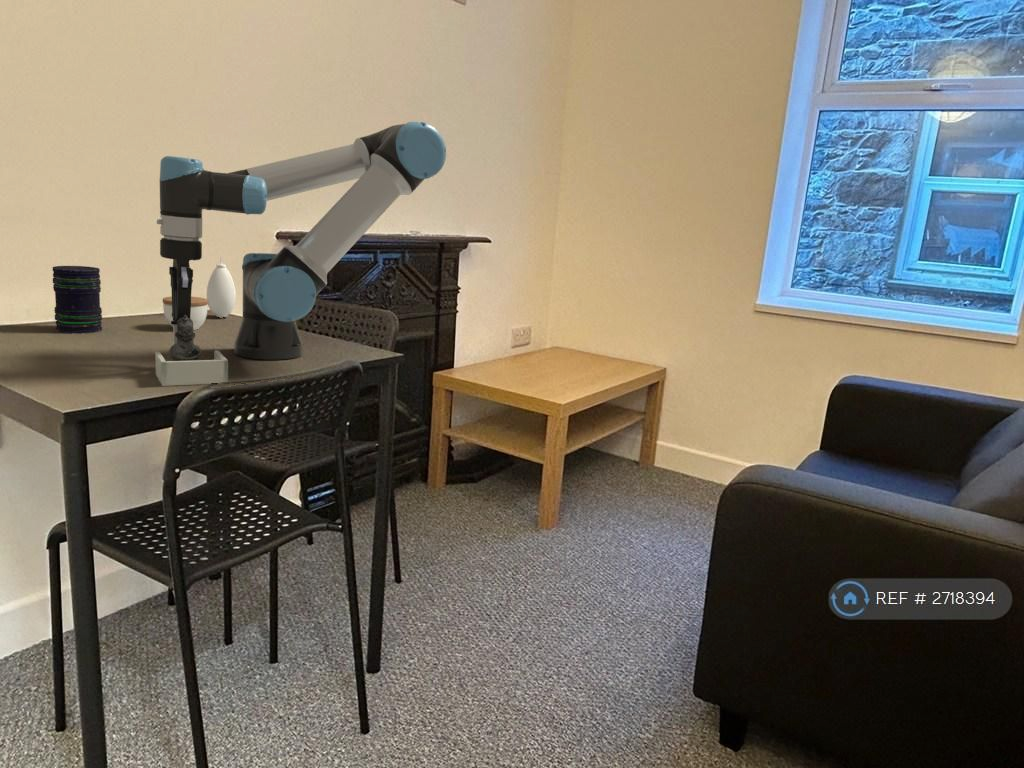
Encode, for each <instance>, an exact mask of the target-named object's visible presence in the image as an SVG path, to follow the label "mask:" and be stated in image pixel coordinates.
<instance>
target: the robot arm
mask: <svg viewBox="0 0 1024 768" xmlns="http://www.w3.org/2000/svg"><path fill="white" fill-rule="evenodd" d="M446 148H447V146H446V143H445V140H444V137H443V136H442V135H441V133H440V132H439V130H438V129H437V128H435V127H434V126H433V125H431V124H429V123H427V122H423V121H418V120H412V121H409V122H406V123H402V124H395V125H391V126H388V127H386V128H384V129H382V130H379V131H376V132H374V133H372V134H369V135H365V136H361V137H357V138H356V139H354V142H353V144H348V145H342V146H339V147H334V148H330V149H327V150H322V151H317V152H313V153H308V154H304V155H300V156H296V157H292V158H291V157H290V158H287V159H283V160H279V161H278V160H277V161H275V162H270V163H265V164H262V165H261V164H260V165H258V166H252V167H248V168H245V169H240V170H236V171H232V172H215V171H209V170H204V167H203V162H202V161H201V160H200V159H195V158H188V157H182V156H172V155H171V156H170V155H166V156H164V157H163V158H161V160H160V164H159V166H160V167H159V168H160V169H159V210H160V211H159V212H160V213H159V214H160V215H159V216H160V218H159V219H158V218H157V220H156V224H157V225H160V226H159V227H160V228H159V229H160V235H161V236H163V237H161V239H159V248H160V249H159V251H160V252H159V254H160V257H162V258H164V259H169V260H172V266H169V267H168V270H169V273H168V274H169V275H170V288H171V297H172V317H173V321H171V324H173V327H172V330H173V332H172V333H173V337H172V338H173V339H172V340H173V341H172V342H173V345H175V344H177V337H176V336H175V333H176V332H177V322H178V320H179V319H180V318H184V317H183V316H184V315H186V316H187V318H190V312H191V297H192V288H193V282H194V280H193V278H194V269H192V268H191V267H190V261H199V260H201V259H202V256H203V253H202V252H203V249H202V248H203V244H202V242H201V240H200V239H202V238H203V210H206V211H216V212H227V213H233V214H234V213H236V214H245V215H247V216H248V215H262V214H264V213H265V211H266V208H267V202H269V201H273V200H276V199H279V198H280V199H281V198H284V197H288V196H293V195H297V194H300V193H304V192H308V191H309V192H310V191H313V190H317V189H320V188H325V187H330V186H333V185H337V184H342V183H344V182H345V183H346V182H349V181H353V180H356V182H355V183H354V184H353V185H352V186H351V187H349V189H348V190H346V192H345V193H344V194H343V195H342V196H341V197H340V198H339V200H337V201H336V202H335V203H334V205H333V206H332V207H331V208H330V209H329V210H328V211H327V212H326V213H325V214H324V215H323V216H322V218H320V220H318V221H317V223H316V224H315V225H314V226H312V228H311V229H310V230H309V231H308V232H307V233H306V234H305V235H304V236H303V237H302V239H300V241H299V242H297V243H296V245H286V246H283V248H282V249H281V250H280V251H278V253H264V252H263V253H262V252H258V253H255V252H250V253H246V254H245V255H244V256H243V259H242V265H241V269H242V319H241V323H240V325H239V329H238V331H237V335H236V338H235V341H234V351H233V352H234V354H235V355H236V356H240V357H243V358H248V359H253V360H254V359H255V360H268V361H271V360H272V361H275V360H276V361H277V360H288V359H295V358H298V357H301V356H302V355H303V342H302V339H301V335H300V333H299V329H298V326H297V322H296V321H298V320H300V319H302V318H304V317H306V316H307V315H308V314H309V313H310V312H311V310H312V309H313V307H314V306H315V303H316V299H317V296H318V295H319V293H320V292H321V291H322V290H323V289H324V288H325V287H326V286H327V284H328V273H329V272H330V271H331V270H332V269H333V268H334V267H335V266H336V265H337V263H338V262H339V261H341V260H342V258H343V257H344V256H345V255H346V254H347V252H349V250H351V248H352V247H354V245H356V243H357V242H358V241H359V240H360V239H361V238H362V237H363V235H364V234H365V233H366V232H367V231H368V230H369V229H370V228H371V227H372V226H373V225H374V224H375V223H376V221H378V219H380V217H381V216H382V215H383V214H384V213H385V212H386V211H387V210H388V208H390V207H391V205H392V204H393V203H394V202H395V201H396V200H397V199H398V198H399V197H400V196H402V195H403V196H404V195H406V196H409V195H411V194H412V193H413V192H414V191H415V190H416V189H417V188H418V187H419V186H420V185H421V184H422V183H423V181H424V180H427V179H430V178H432V177H434V176H436V175H437V174H438V173H440V171H441V170H442V169H443V167H444V166H445V161H446V159H447V158H446V157H447V149H446ZM173 345H172V346H173Z"/></svg>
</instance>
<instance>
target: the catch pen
mask: <svg viewBox="0 0 1024 768" xmlns="http://www.w3.org/2000/svg"><path fill="white" fill-rule="evenodd" d="M213 351H214V352H213V355H214V357H213V359H203V360H201V359H197V360H196V361H173V360H167V361H166V359H165V358H164V356H163V355H162V353H161V352H160V351H154V354H155V356H154V357H155V375H156V377H157V379H158V381H159V383H160V384H161V386H162V387H169V386H189V385H191V386H192V385H193V386H194V385H212V384H211V383H218V382H228V383H229V360H228V358H226V357H225V356H224V355H223V354H222V353H221V351H220V350H213ZM218 384H219V383H218Z"/></svg>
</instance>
